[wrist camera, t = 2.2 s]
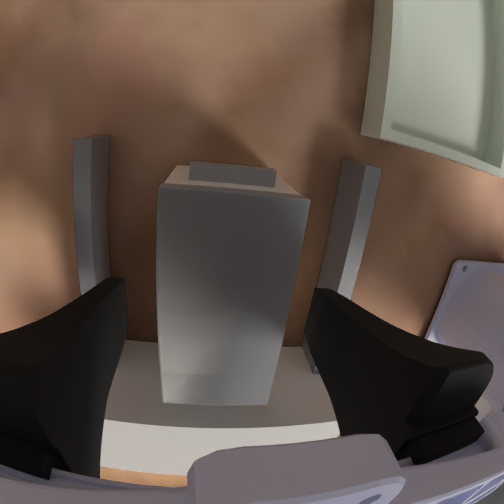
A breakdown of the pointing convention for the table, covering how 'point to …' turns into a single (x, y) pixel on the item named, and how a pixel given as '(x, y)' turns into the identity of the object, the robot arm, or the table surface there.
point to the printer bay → (147, 353)
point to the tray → (439, 79)
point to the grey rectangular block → (224, 280)
